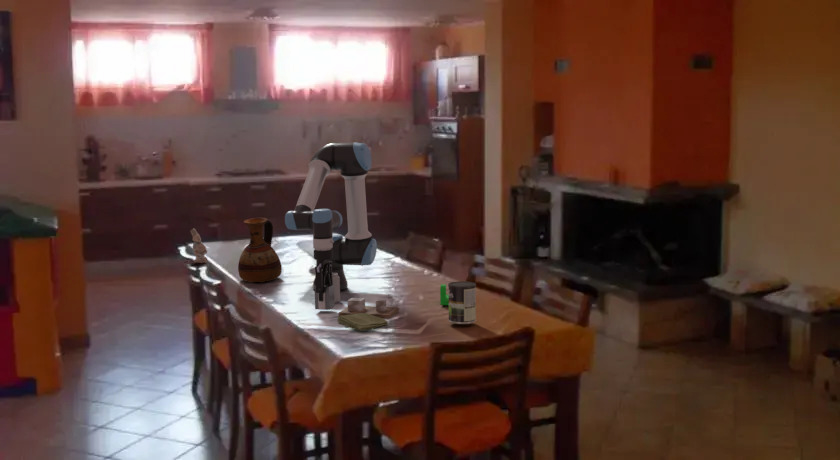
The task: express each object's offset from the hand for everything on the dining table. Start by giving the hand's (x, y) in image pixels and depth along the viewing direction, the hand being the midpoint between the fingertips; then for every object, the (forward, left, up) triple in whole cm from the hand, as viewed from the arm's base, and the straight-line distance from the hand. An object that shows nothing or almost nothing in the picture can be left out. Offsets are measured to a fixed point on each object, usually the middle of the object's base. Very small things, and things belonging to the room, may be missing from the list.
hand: (325, 307), depth 367 cm
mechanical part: (+44, +28, -2) cm, 52 cm away
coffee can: (+56, -6, -2) cm, 56 cm away
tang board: (+18, 0, -2) cm, 18 cm away
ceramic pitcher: (-53, +60, -2) cm, 80 cm away
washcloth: (+21, -18, -3) cm, 28 cm away
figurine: (-101, +94, -2) cm, 138 cm away
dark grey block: (0, 0, 0) cm, 0 cm away
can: (-4, +19, -2) cm, 19 cm away
